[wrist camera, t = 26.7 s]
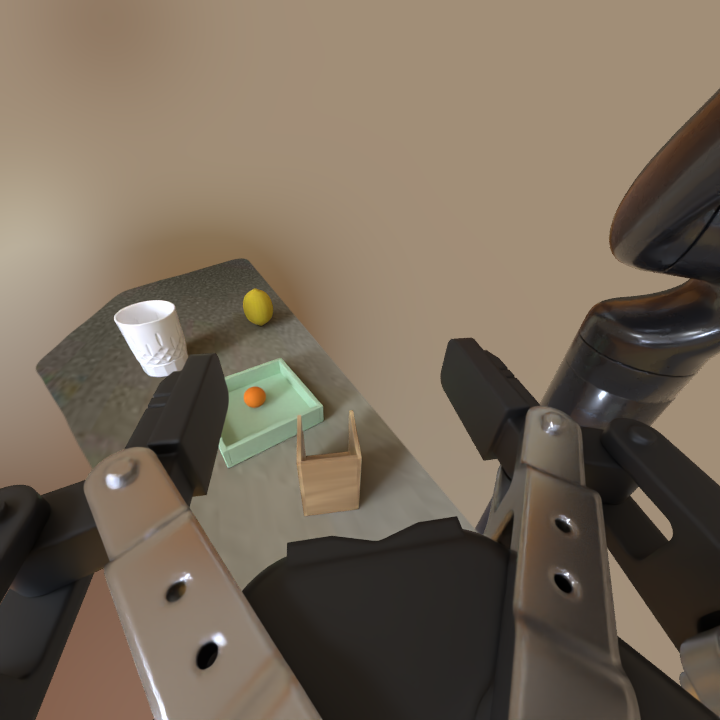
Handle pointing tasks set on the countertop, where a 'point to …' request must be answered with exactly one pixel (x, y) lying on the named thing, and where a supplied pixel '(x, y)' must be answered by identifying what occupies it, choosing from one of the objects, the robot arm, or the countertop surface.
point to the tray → (265, 411)
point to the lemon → (257, 307)
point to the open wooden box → (329, 475)
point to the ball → (254, 397)
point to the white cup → (154, 336)
